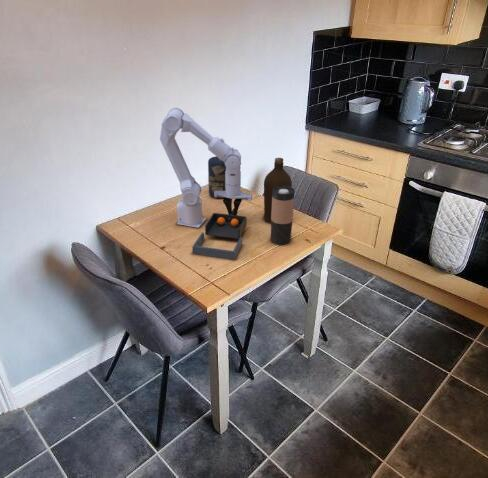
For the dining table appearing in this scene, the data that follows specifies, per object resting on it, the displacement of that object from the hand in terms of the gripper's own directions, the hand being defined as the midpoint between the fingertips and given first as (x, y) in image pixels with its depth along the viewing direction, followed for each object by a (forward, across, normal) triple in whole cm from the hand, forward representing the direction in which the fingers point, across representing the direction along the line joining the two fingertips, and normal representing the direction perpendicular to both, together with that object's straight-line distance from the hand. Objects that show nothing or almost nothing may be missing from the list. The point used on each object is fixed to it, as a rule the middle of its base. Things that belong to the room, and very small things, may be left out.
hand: (232, 215), depth 169 cm
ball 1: (0, +3, +7) cm, 7 cm away
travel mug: (+3, -20, +9) cm, 22 cm away
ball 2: (0, -2, +7) cm, 7 cm away
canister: (+4, +13, -24) cm, 28 cm away
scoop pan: (+2, 0, +6) cm, 6 cm away
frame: (+3, 0, +20) cm, 21 cm away
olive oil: (+3, -16, -8) cm, 18 cm away
